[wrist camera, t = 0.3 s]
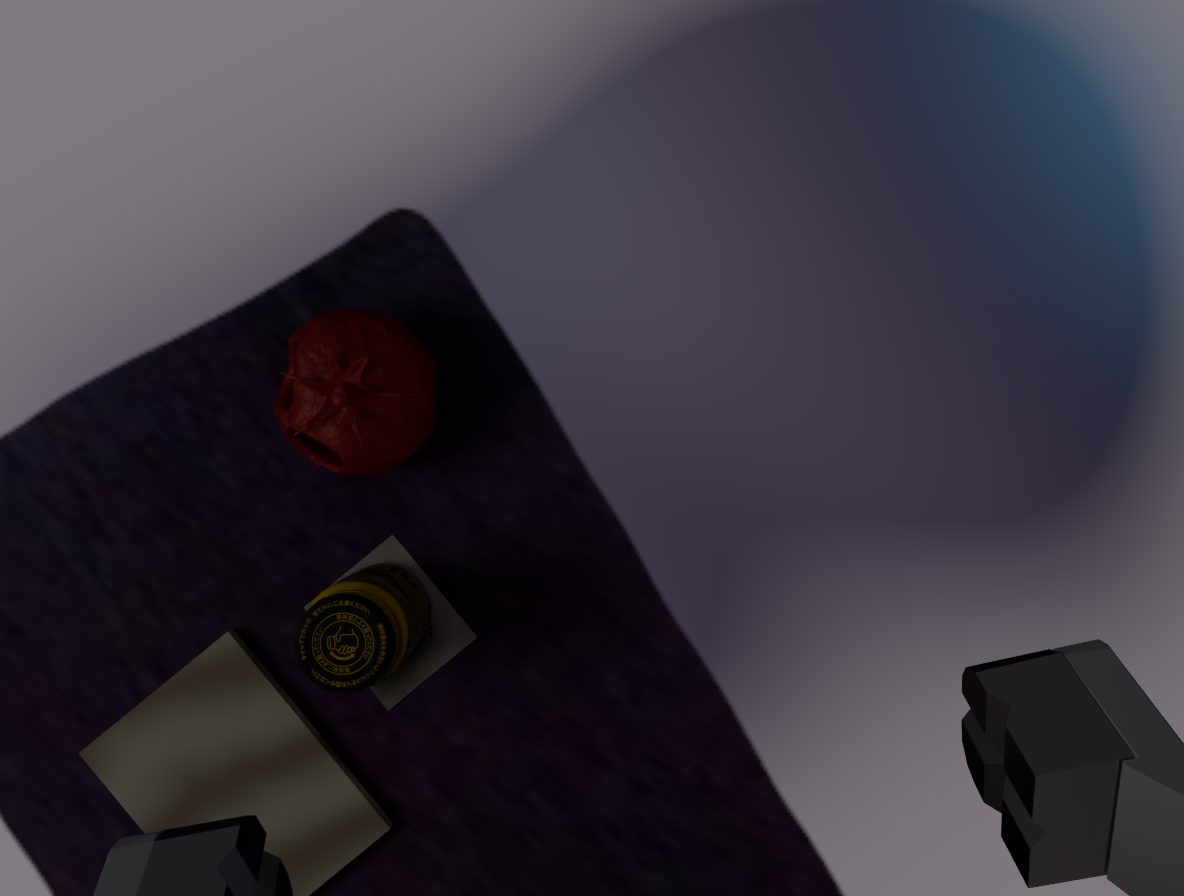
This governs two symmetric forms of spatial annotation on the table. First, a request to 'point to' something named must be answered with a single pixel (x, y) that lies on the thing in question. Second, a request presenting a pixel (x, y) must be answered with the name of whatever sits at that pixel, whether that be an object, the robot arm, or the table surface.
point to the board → (238, 765)
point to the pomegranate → (357, 392)
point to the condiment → (379, 628)
